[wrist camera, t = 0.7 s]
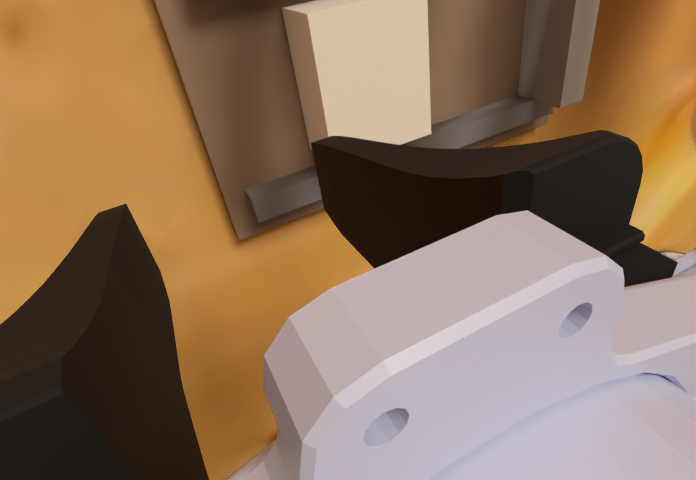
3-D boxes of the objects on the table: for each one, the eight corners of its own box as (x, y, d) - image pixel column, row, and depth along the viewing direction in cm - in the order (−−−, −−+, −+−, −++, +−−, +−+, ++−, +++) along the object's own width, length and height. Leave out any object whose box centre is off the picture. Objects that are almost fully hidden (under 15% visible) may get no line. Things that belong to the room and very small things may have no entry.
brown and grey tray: (568, -149, 21) (646, -166, 18) (536, 120, 28) (587, 138, 25) (123, -82, 15) (132, -93, 12) (235, 232, 22) (256, 273, 20)
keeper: (390, -18, 19) (427, -15, 17) (399, 118, 22) (431, 133, 20) (281, 7, 17) (307, 14, 15) (309, 147, 21) (333, 168, 19)
